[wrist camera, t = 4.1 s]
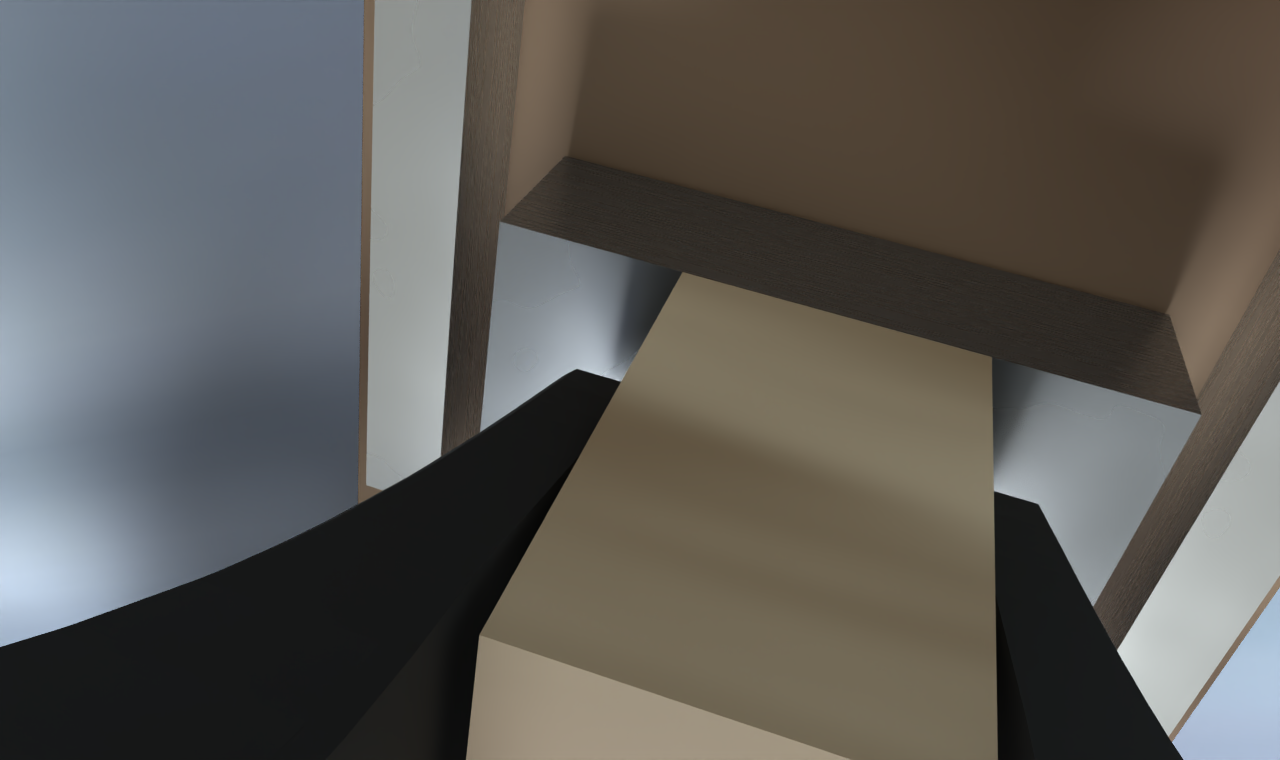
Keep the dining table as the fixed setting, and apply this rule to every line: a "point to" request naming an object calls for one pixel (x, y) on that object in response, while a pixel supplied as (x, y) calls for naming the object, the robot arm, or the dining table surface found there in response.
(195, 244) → the dining table surface
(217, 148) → the dining table surface
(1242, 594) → the press base
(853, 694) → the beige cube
